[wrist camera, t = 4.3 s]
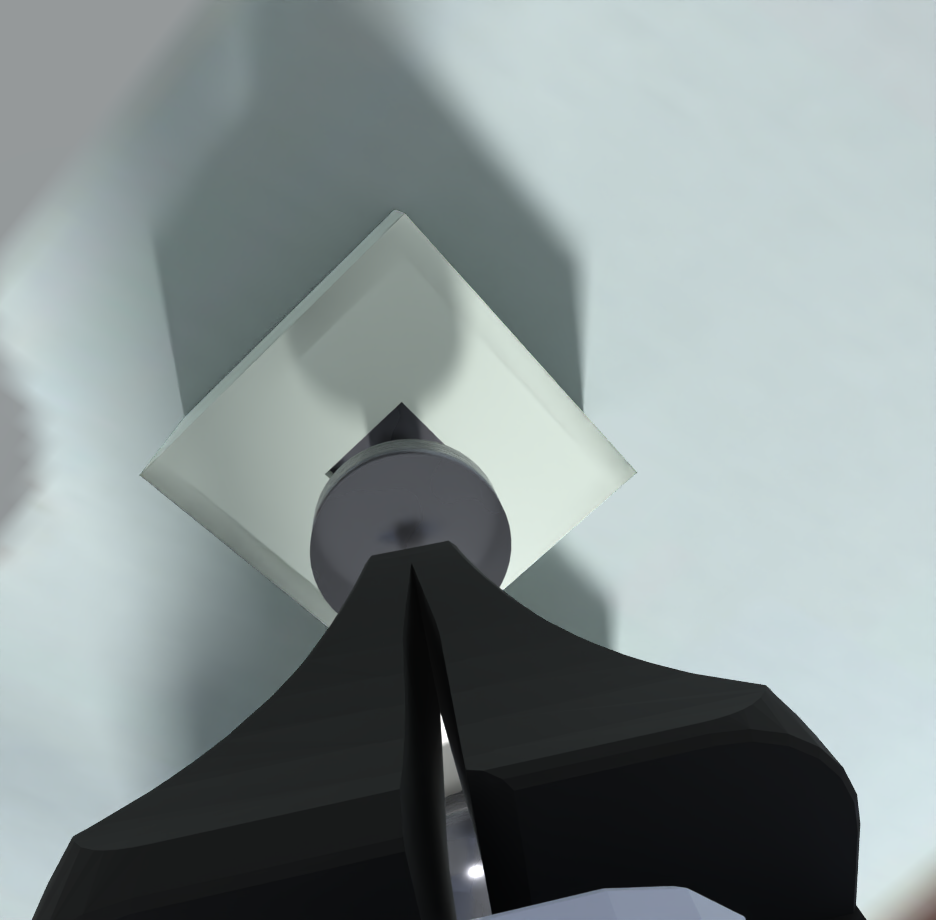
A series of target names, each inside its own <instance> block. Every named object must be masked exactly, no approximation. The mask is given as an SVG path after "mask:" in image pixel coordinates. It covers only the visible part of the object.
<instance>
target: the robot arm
mask: <svg viewBox="0 0 936 920" xmlns="http://www.w3.org/2000/svg"><path fill="white" fill-rule="evenodd" d="M441 716H442V720H443V724H444V727H445V731H446V734H447V738H448V741H449V745H450V748H451V752H452V755H453V759H454V762H455V766H456V769H457V773H458V776H459V779H460V783H461V786H462V790H463V793H464V797H465V800H466V804H467V807H468V811H469V814H470V818H471V821H472V825H473V828H474V832H475V835H476V839H477V844H478V848H479V852H480V856H481V860H482V864H483V870H484V875H485V880H486V886H487V891H488V897H489V902H490V907H491V913H492V915H489V916H485V917H481V918H476V919H472V920H866V918H865V917H864V916H863V914H862V913H861V911H860V910H859V909H858V907H857V906H856V893H857V874H858V856H859V837H860V817H859V808H858V800H857V793H856V792H855V790H854V788H853V786H852V784H851V782H850V780H849V778H848V776H847V774H846V772H845V770H844V768H843V767H842V766H841V765H840V763H839V762H838V761H837V760H836V759H835V758H834V756H833V755H832V754H831V753H830V752H829V750H828V749H827V748H826V747H825V746H824V745H823V743H822V742H821V741H820V740H819V739H818V737H817V736H816V735H815V734H814V733H813V732H812V731H811V730H810V729H809V728H808V726H807V725H806V724H805V723H804V722H803V721H802V720H801V719H800V718H799V717H798V716H797V715H796V714H795V713H794V712H793V711H792V710H791V709H790V708H789V707H788V706H787V705H785V704H784V703H783V702H782V701H781V700H780V699H779V698H778V697H777V696H776V695H775V694H774V693H773V692H772V691H771V690H770V689H769V688H768V687H767V686H766V685H761V684H754V683H748V682H742V681H736V680H730V679H723V678H717V677H711V676H705V675H698V674H693V673H689V672H684V671H680V670H676V669H672V668H668V667H665V666H661V665H657V664H653V663H649V662H646V661H643V660H639V659H636V658H633V657H630V656H626V655H623V654H621V653H618V652H615V651H613V650H610V649H608V648H605V647H602V646H600V645H597V644H594V643H592V642H589V641H587V640H585V639H583V638H580V637H578V636H576V635H574V634H572V633H570V632H568V631H566V630H564V629H562V628H560V627H558V626H556V625H554V624H552V623H550V622H548V621H547V620H545V619H543V618H541V617H540V616H538V615H536V614H535V613H533V612H532V611H530V610H529V609H528V608H526V607H525V606H523V605H522V604H520V603H519V602H517V601H516V600H515V599H513V598H512V597H511V596H509V595H508V594H507V593H506V592H504V591H503V590H502V589H501V588H500V587H498V586H497V585H496V584H495V583H493V582H492V581H491V580H490V579H489V578H487V577H486V576H485V575H484V574H483V573H482V572H481V571H480V570H479V569H478V568H477V567H476V566H474V565H473V564H472V563H471V562H470V561H469V560H468V559H467V558H466V556H465V555H464V554H463V553H462V552H461V551H460V550H459V548H458V547H457V546H456V545H454V544H453V543H452V542H450V541H444V542H439V543H433V544H428V545H423V546H418V547H413V548H408V549H403V550H397V551H392V552H387V553H382V554H377V555H372V556H371V557H370V558H369V559H368V561H367V562H366V563H365V565H364V568H363V570H362V572H361V574H360V576H359V578H358V579H357V581H356V583H355V585H354V587H353V589H352V590H351V592H350V594H349V596H348V598H347V599H346V601H345V603H344V604H343V606H342V607H341V609H340V611H339V612H338V614H337V616H336V617H335V619H334V620H333V622H332V624H331V625H330V627H329V628H328V629H327V631H326V632H325V634H324V635H323V636H322V638H321V639H320V641H319V642H318V643H317V645H316V646H315V647H314V649H313V650H312V652H311V653H310V654H309V656H308V657H307V658H306V660H305V661H304V662H303V663H302V664H301V666H300V667H299V668H298V669H297V670H296V671H295V672H294V674H293V675H292V676H291V677H290V678H289V679H288V680H287V681H286V682H285V683H284V684H283V685H282V686H281V687H280V688H279V690H278V691H277V692H276V693H275V694H274V695H273V696H272V697H271V698H270V699H269V700H267V701H266V702H265V703H264V704H263V705H262V706H261V707H260V708H258V709H257V710H256V711H255V712H254V713H253V714H252V715H251V716H249V717H248V718H247V719H246V720H245V721H244V722H243V723H241V724H240V725H239V726H238V727H237V728H236V729H235V730H234V731H232V732H231V733H230V734H229V735H228V736H227V737H225V738H224V739H223V740H222V741H220V742H219V743H218V744H217V745H215V746H214V747H213V748H211V749H210V750H209V751H207V752H206V753H205V754H203V755H202V756H201V757H199V758H198V759H197V760H195V761H194V762H193V763H191V764H190V765H188V766H187V767H185V768H184V769H183V770H181V771H180V772H178V773H177V774H175V775H174V776H173V777H171V778H170V779H168V780H167V781H165V782H164V783H162V784H161V785H159V786H158V787H156V788H155V789H153V790H152V791H150V792H148V793H147V794H145V795H143V796H142V797H140V798H138V799H137V800H135V801H133V802H132V803H130V804H128V805H126V806H125V807H123V808H121V809H120V810H118V811H116V812H115V813H113V814H111V815H110V816H108V817H106V818H105V819H103V820H101V821H100V822H98V823H96V824H95V825H93V826H91V827H89V828H88V829H86V830H84V831H82V832H80V833H78V834H77V835H75V836H73V837H72V839H71V841H70V843H69V845H68V847H67V849H66V851H65V852H64V854H63V856H62V858H61V860H60V862H59V864H58V866H57V867H56V869H55V871H54V873H53V875H52V877H51V879H50V881H49V882H48V885H47V887H46V889H45V891H44V894H43V896H42V898H41V900H40V903H39V905H38V907H37V909H36V912H35V914H34V916H33V918H32V920H457V916H456V910H455V903H454V896H453V889H452V882H451V876H450V867H449V857H448V846H447V830H446V810H445V790H444V770H443V750H442V731H441Z"/></svg>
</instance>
